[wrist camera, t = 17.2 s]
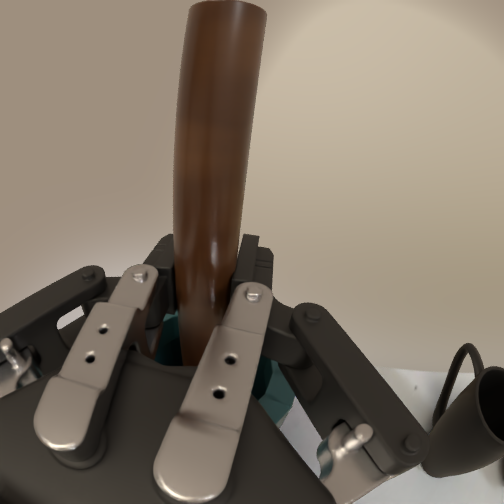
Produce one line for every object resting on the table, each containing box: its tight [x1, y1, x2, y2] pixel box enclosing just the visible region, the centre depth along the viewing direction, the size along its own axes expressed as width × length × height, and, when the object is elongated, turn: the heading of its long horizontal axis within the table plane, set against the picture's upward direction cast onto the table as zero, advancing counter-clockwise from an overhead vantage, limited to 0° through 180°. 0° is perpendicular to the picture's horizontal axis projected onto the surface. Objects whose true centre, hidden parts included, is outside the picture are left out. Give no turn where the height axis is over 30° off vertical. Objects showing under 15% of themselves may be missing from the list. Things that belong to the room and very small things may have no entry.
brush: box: [173, 0, 267, 366], centre depth 12 cm, size 5×5×24 cm
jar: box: [154, 310, 295, 428], centre depth 16 cm, size 10×10×11 cm
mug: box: [421, 343, 504, 478], centre depth 15 cm, size 8×12×10 cm
